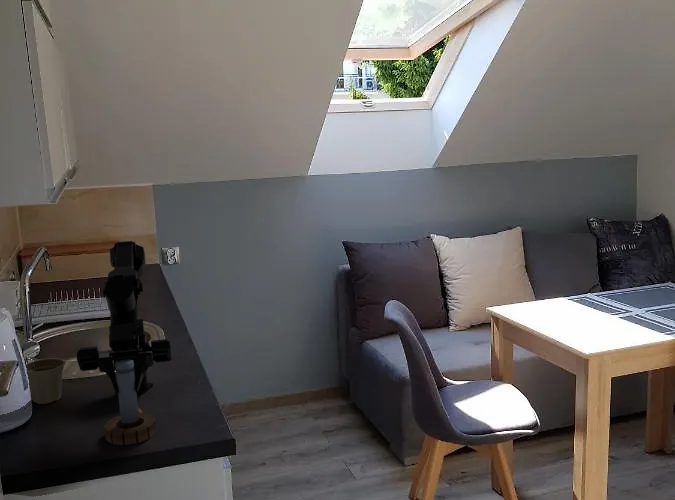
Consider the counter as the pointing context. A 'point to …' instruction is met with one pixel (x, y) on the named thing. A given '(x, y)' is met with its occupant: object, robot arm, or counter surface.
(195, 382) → the counter surface
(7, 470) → the counter surface
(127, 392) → the dark grey capped cylinder
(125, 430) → the brown segmented ring
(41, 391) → the flower pot
